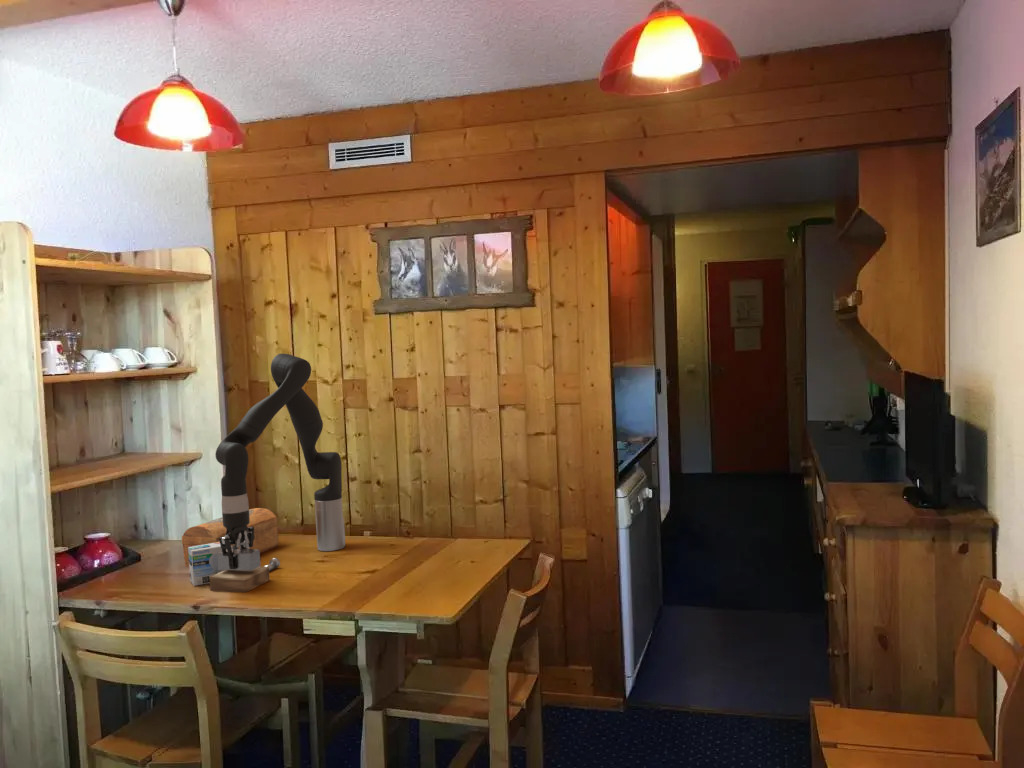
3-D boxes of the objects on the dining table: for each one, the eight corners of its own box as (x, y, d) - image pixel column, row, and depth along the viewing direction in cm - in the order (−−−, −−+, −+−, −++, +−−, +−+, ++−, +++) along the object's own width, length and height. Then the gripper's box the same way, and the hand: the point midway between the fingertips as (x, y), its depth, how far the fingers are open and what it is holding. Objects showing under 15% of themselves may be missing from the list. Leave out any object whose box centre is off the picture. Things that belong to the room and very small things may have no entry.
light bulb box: (193, 586, 243) (191, 551, 242) (189, 581, 248) (186, 546, 248) (230, 579, 248) (228, 544, 248) (225, 574, 254) (223, 540, 254)
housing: (260, 565, 242) (259, 549, 242) (250, 570, 238) (249, 553, 237) (228, 564, 245) (227, 548, 245) (218, 569, 241) (217, 553, 240)
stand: (235, 578, 249) (234, 565, 249) (269, 579, 246) (268, 566, 246) (210, 590, 238) (209, 577, 238) (245, 592, 234) (244, 578, 234)
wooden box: (221, 570, 260) (218, 527, 259) (182, 566, 267) (179, 525, 266) (283, 546, 287) (280, 507, 287) (246, 544, 294) (244, 506, 293)
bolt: (271, 567, 260) (270, 557, 260) (280, 567, 259) (279, 557, 259) (260, 572, 254) (259, 562, 254) (269, 573, 253) (268, 563, 253)
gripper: (231, 515, 233) (235, 573, 234) (260, 504, 246) (264, 559, 247) (209, 514, 235) (213, 572, 236) (239, 504, 249) (243, 559, 250)
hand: (239, 565), depth 242 cm, fingers closed on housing, 5 cm apart
